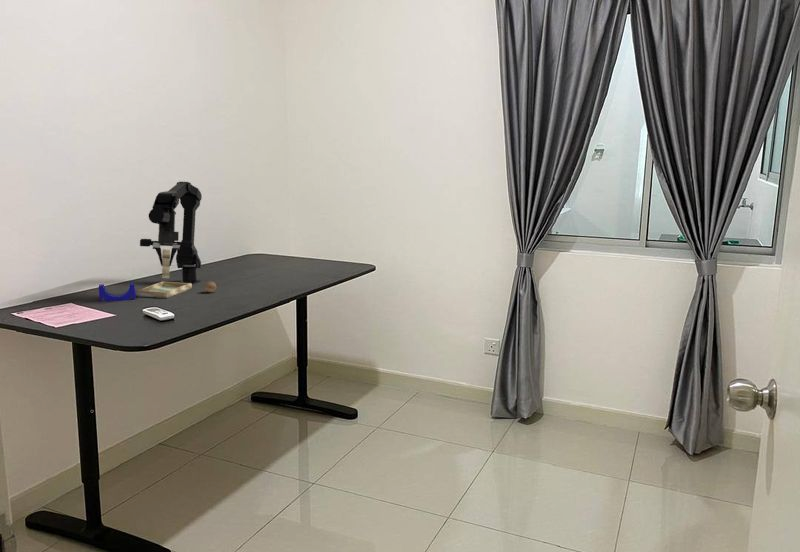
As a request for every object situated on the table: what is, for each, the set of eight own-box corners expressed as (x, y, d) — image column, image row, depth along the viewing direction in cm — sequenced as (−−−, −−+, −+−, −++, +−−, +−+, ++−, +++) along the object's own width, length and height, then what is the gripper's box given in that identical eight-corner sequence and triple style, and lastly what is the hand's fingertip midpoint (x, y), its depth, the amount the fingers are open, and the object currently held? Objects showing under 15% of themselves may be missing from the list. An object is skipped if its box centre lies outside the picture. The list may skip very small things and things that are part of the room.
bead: (208, 290, 257) (207, 280, 256) (218, 291, 256) (218, 280, 255) (202, 293, 252) (202, 282, 251) (213, 293, 251) (212, 282, 251)
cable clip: (135, 297, 244) (134, 282, 243) (134, 300, 240) (134, 284, 239) (101, 299, 240) (99, 283, 239) (99, 302, 236) (98, 286, 235)
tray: (162, 286, 262) (162, 281, 262) (191, 288, 260) (191, 283, 259) (136, 296, 245) (136, 290, 245) (167, 298, 243) (166, 292, 242)
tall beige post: (162, 273, 252) (162, 249, 244) (169, 273, 253) (170, 249, 244) (162, 278, 250) (162, 254, 242) (169, 278, 251) (169, 254, 243)
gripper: (139, 223, 236) (138, 265, 236) (192, 225, 242) (192, 266, 242) (141, 224, 246) (140, 265, 246) (192, 227, 252) (191, 266, 253)
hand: (165, 266), depth 247 cm, fingers closed on tall beige post, 3 cm apart
